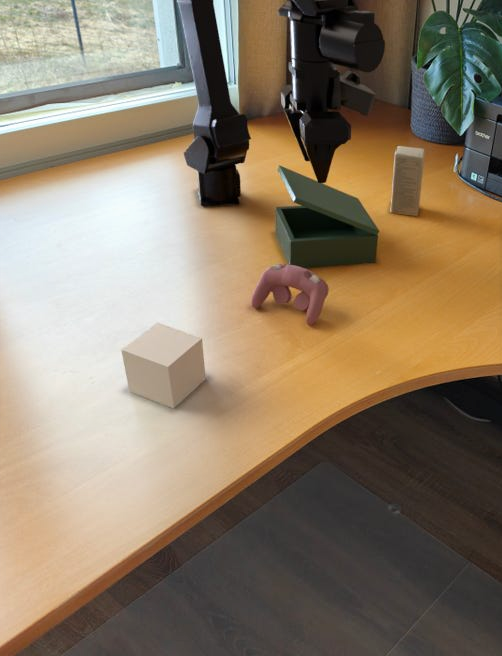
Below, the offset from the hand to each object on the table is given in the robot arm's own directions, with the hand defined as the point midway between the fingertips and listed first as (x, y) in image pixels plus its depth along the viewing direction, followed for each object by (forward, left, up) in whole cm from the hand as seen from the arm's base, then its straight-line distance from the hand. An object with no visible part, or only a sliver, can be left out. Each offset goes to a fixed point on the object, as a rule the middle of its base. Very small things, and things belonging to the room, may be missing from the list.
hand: (315, 171), depth 98 cm
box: (+20, +12, -13) cm, 27 cm away
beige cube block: (-24, -29, -13) cm, 40 cm away
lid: (+2, 0, -5) cm, 5 cm away
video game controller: (-7, -16, -13) cm, 22 cm away
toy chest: (+2, 0, -13) cm, 13 cm away
